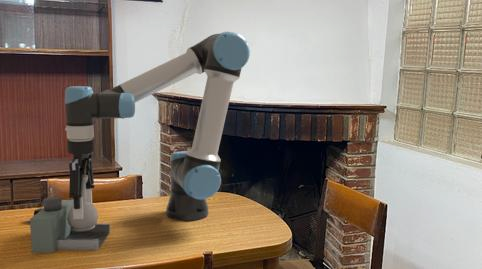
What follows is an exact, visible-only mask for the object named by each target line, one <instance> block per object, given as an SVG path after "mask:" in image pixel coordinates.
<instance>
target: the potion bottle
mask: <svg viewBox="0 0 482 269" xmlns="http://www.w3.org/2000/svg"><path fill="white" fill-rule="evenodd" d="M87 181H88V175H86V171H85V174H84V175H83V185H82V196H81V197H83V219H73V206H72V207H71V209H70V211H69V212H68V217H67V221H68V224H69V226H72V228H71V229H72V230H74V231H88V230H92V229H93V228H95V225H94V224H96V223H98V220H99V212H98V210H97V208H96V207H95V205H94V203H93V202H92V203H88V202H86V182H87Z"/></svg>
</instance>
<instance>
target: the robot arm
mask: <svg viewBox="0 0 482 269" xmlns="http://www.w3.org/2000/svg"><path fill="white" fill-rule="evenodd" d="M250 53H251V50H250V46H249V44H248V41H247V40H246V39H245V37H244V36H242V35H241V34H239V33H237V32H234V31H233V32H232V31H224V32H220V33H214V34H211V35H209V36H207V37H205V38H204V39H202V40H200V41H199V42H197V43H196V44H194V45H192V46H190V47H188V48H187V49H186V52H184V53H182V54H181V55H178V56H176V57H174V58H172V59H170V60H168V61H166V62H164V63H162V64H160V65H158V66H156V67H153V68H151V69H149V70H147V71H145V72H143V73H141V74H138V75H137V76H135V77H133V78H130V79H129V80H126V81H124V82H122V83H119V84H118V85H116V86H115V87H112V88H110V89H105V90H103V91H102V92H101V91H100V93H96V92H94V91H93V88H92V87H91V86H84V85H83V86H81V85H76V86H75V85H73V86H68V87H66V89H65V92H64V97H65V98H64V107H65V124H66V125H65V128H64V131H65V132H66V138H67V139H68V140H67V141H66V152H67V153H68V154H71V155H73V156H72V157H73V158H72V161H71V162H69V164H68V167H69V168H68V169H69V191H68V192H69V195H68V198H69V199H72V200H73V219H83V197H81V196H82V185H83V175H84V174H85V171H86V175H88V181H87V182H86V202H88V203H92V204H93V194H92V190H93V189H95V184H94V183H95V182H94V168H93V154H92V153H94V151H95V140H94V139H93V138H94V137H95V131H94V130H95V128H94V119H123V120H124V119H127V118H128V119H129V118H133V117H135V113H136V103H137V102H139V101H142V100H143V99H145V98H146V99H147V97H150V96H152V95H154V94H156V93H159V92H160V91H162V90H164V89H166V88H168V87H170V86H172V85H174V84H177V83H178V82H180V81H182V80H184V79H186V78H188V77H191V76H192V75H195V74H199V75H201V74H203V73H204V74H206V82H205V88H204V92H203V95H202V101H201V104H200V109H199V114H198V118H197V124H196V127H195V131H194V132H195V133H194V137H193V140H192V146H191V148H190V149H189V150H183V151H174V152H172V153H171V155H170V160H169V161H170V196H169V199H168V203H167V205H166V211H165V212H166V217H167V218H169V219H170V220H171V219H172V220H175V221H180V222H181V221H183V222H184V221H186V222H187V221H198V220H201V219H202V220H203V219H205V218H207V216H208V215H209V206H208V202H207V199H210V198H211V197H213V196H214V195H215V194H216V193H217V192H218V191H219V189H220V187H221V185H222V178H221V174H220V172H219V170H220V166H221V160H222V159H221V158H220V156H219V148H220V144H221V140H222V135H223V131H224V126H225V121H226V116H227V114H228V108H229V104H230V100H231V95H232V91H233V86H234V83H235V82H236V81H238V80H239V79H240V78H241V77H240V76H241V72H242V68H243V67H244V66H245V65H246V64H247V63H248V61H249V59H250V56H251V55H250Z"/></svg>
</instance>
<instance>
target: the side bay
mask: <svg viewBox="0 0 482 269" xmlns="http://www.w3.org/2000/svg"><path fill="white" fill-rule="evenodd" d="M94 225H95V228H93V229H92V230H88V231H74V230H72V229H71V233H70V234H69V235H68V236H67V237H66V238H65V239H56V240H55V243H56V250H55V251H99V249H100V248H101V246H102V245H103V244H104V242H105V241H106V239H108V238H107V237H108V236H109V235H110V234H111V223H110V222H108V223H107V222H106V223H105V222H104V223H103V222H102V223H101V222H99V223H98V222H97V223H96V224H94ZM71 228H72V226H71Z"/></svg>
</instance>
